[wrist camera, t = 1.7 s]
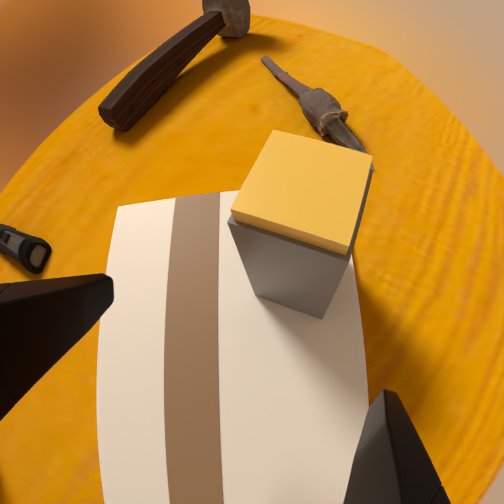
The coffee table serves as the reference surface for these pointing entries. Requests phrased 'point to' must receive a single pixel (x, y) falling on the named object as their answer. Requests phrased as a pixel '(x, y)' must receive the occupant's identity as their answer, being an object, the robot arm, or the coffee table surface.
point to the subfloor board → (220, 371)
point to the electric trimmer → (24, 248)
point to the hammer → (171, 61)
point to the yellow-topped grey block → (300, 219)
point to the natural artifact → (319, 109)
